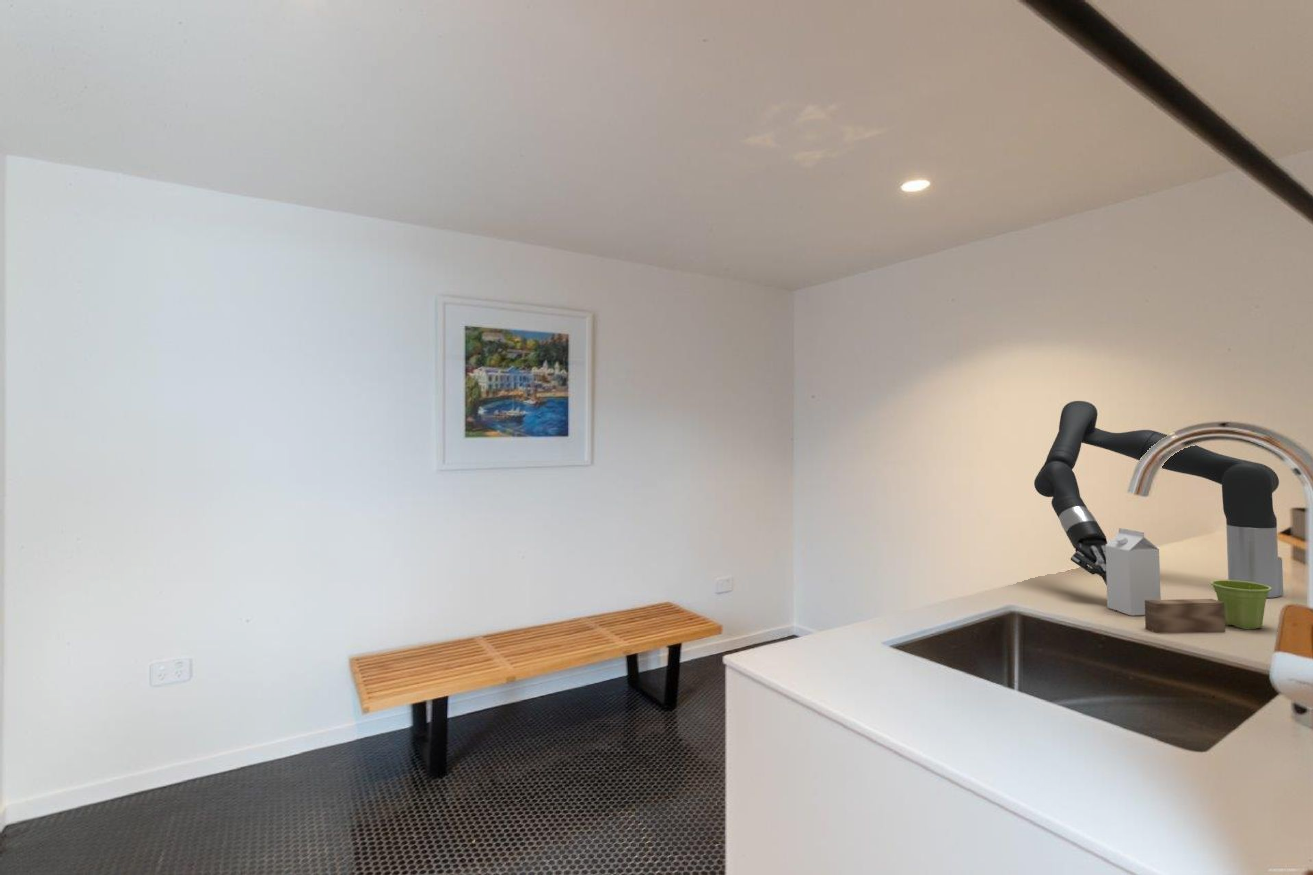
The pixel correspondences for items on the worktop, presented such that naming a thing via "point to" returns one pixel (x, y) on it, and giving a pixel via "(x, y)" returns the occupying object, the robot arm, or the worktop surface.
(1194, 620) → the brown block
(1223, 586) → the plant pot
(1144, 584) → the milk carton
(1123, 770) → the worktop surface
